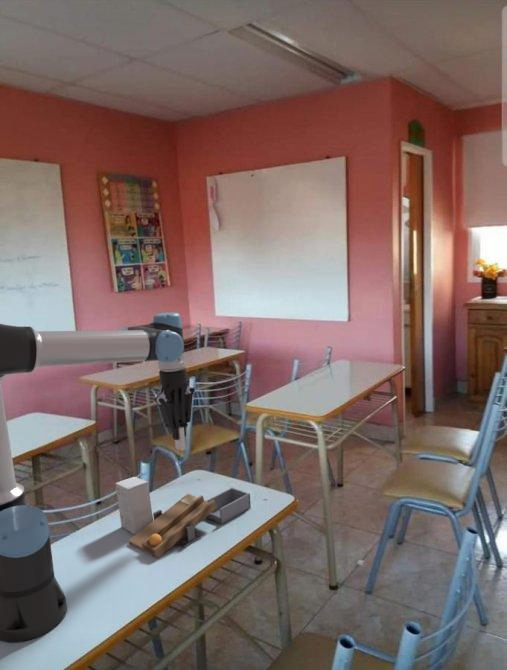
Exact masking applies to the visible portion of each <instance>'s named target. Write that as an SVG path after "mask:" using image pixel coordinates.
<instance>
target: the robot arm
mask: <svg viewBox="0 0 507 670" xmlns="http://www.w3.org/2000/svg"><path fill="white" fill-rule="evenodd" d="M152 319H153V320H152V322H151V323H146V324H140V325H135V326H128V327H127V326H125V327H123V328H119V329H116V330H45V331H44V330H43V331H42V330H40V331H39V330H37V331H36V329H34V328H33V326H18V325H17V326H16V325H8V324H3V323H0V641H2V642H7V643H9V642H10V643H19V642H25V641H29V640H34V639H36V638H39V637H40V636H43V635H45V634H47V633H48V632H50V631H52V630H53V629H55V628H56V627H57V626H58V625H59V624H60V623H61V622H62V621H63V619H64V618H65V616H66V614H67V611H68V605H67V598H66V595H65V593H64V591H63V589H62V588H61V585H60V583H59V582H58V581H57V578H56V576H55V571H54V562H53V553H52V544H51V535H50V531H51V530H50V524H49V522H48V518H47V517H48V516H47V515H46V514H45V511H43V510H42V509H41V508H39V507H36V506H34V505H31V506H28V504H27V499H26V498H27V497H26V491H25V487H24V485H22V484H20V483H18V482H17V480H16V474H15V468H14V462H13V456H12V450H11V449H12V448H11V443H10V433H9V429H8V424H7V416H6V410H5V402H4V396H3V390H2V389H3V388H2V381H3V380H4V379H5V378H6V377H7V375H14V374H16V375H17V374H24V373H25V374H26V373H33V372H34V371H35V370H36V369H37V368H47V367H64V366H65V367H66V366H81V365H83V366H84V365H94V364H95V365H97V364H98V365H99V364H114V363H115V364H116V363H132V362H134V363H135V362H155V361H157V368H158V369H159V372H158V373H159V374H158V376H159V382H160V385H161V390H160V392H161V394H160V395H159V396H158V397H155V398H154V402H155V403H156V404H157V405H158V408H159V411H160V412H159V413H160V414H161V417H162V420H163V422H164V427H165V428H167V429H171V433H172V440H174V444H175V446H174V447H175V449H176V450H178V451H181V452H183V451H184V450H186V449H187V448H186V447H187V446H186V436H187V430H186V428H187V427H188V425H189V424H188V423H190V422H191V420H192V419H191V418H192V407H193V406H192V405H193V396H194V393H195V390H196V389H195V387H190V386H188V382H187V381H188V374H187V368H186V365H187V364H186V356H185V355H186V353H185V345H184V344H185V343H184V333H183V330H184V329H183V324H182V323H183V322H182V318H181V315H180V313H178V312H174V311H173V312H169V311H168V312H161V313H157V314H154V315H153V318H152Z"/></svg>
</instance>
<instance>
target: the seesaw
mask: <svg viewBox="0 0 507 670" xmlns="http://www.w3.org/2000/svg"><path fill="white" fill-rule="evenodd" d="M216 508H217V507H216V503H215V500H212V501H211V502H207V501H206V500H205V497H204V495H199V496H198V497H197V496H195V495H192V494H189V493H187V494H186V495H184V496H183V497H182V498H181V499H179V500H178V501H177V502H175V503H174V504H173V505H171V506H170V507H169V508H168V509H167V510H166V511H164V512H162V514H161V515H160V516H159V517H158V518H156V519H155V520H154V519H153V521H152V522H151V523H150V524H149V525H147V526H146V527H145V528H144V529H142V530H141V531H140V532H139V533H136V534H134V535H133V536H132V537H131V538H130V539H128V544H129V545H131V546H133V547H135V548H137V549H139V550H140V551H142V552H144V553H146V554H147V555H150V556H152V557H154V558H156V559H159V558H160V557H161V556H162V555H163V554H164V553H166V552H167V551H169V549H170V548H172V547H173V546H174V545H175V544H176V542H177V541H179V540H180V539H181V538H182V537H183V536H184V535H186V531H185V527H187V526H189V525H191V524H194V528H196V526H197V525H198V524H200V523H201V522H202V521H203V520H204V519H206V517H207V516H208V515H209V514H210V513H211V512H213V511H214V510H215V509H216ZM153 534H159V535H160V536H161V538H162V542H161V543H160V544H159V545H158V546H156V547H155V546H153V545H151V544H150V543H149V539H150V537H151V536H152V535H153Z"/></svg>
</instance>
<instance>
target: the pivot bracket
mask: <svg viewBox="0 0 507 670" xmlns="http://www.w3.org/2000/svg"><path fill="white" fill-rule="evenodd" d="M161 514H163V511H162V509H159V510H157V511H155V512H152V515H153V521H154V520H155V519H156V518H158V517H159V516H160V515H161ZM185 531H186V535H184V536H183V537H182V538H181V539H180V540H179V541H177V542H176V543H175V544H176V545H178V546H180V547H182V548H186V547H188V546H189V545H192V544H193V543H196V542H197V541H199V540H200V539H202V535H200V534H198V533H196V532H195V527H194V524H191V525H189V526H187V527H185Z"/></svg>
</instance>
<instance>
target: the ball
mask: <svg viewBox="0 0 507 670" xmlns="http://www.w3.org/2000/svg"><path fill="white" fill-rule="evenodd" d="M161 542H162V538H161V536H160V535H159V534H153V535H152V536H151V537H150V539H149V543H150V544H151V545H153V546H155V547H156V546H158V545H159V544H160V543H161Z"/></svg>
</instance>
